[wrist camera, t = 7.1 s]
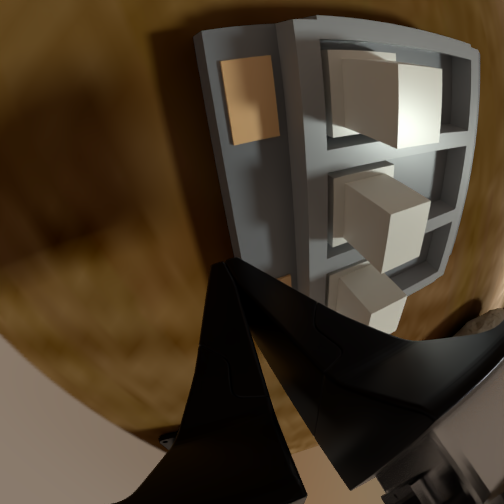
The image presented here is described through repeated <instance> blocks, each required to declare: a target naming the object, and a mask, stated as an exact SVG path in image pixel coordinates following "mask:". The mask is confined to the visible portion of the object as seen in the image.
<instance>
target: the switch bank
mask: <svg viewBox="0 0 504 504" xmlns="http://www.w3.org/2000/svg"><path fill="white" fill-rule="evenodd" d="M193 40H194V46H195V52H196V58H197V63H198V69H199V75H200V81H201V86H202V92H203V98H204V103H205V109H206V114H207V120H208V125H209V130H210V136H211V141H212V147H213V152H214V157H215V162H216V168H217V173H218V178H219V183H220V188H221V194H222V199H223V204H224V209H225V214H226V219H227V224H228V229H229V234H230V239H231V244H232V249H233V253H234V257H238V258H240V259H242V260H244V261H245V262H247V263H249V264H251V265H253V266H254V267H256V268H258V269H260V270H261V271H263V272H265V273H267V274H269V275H270V276H272V277H274V278H276V279H278V280H279V281H281V282H283V283H285V284H287V285H288V286H290V287H292V288H294V289H296V290H297V291H299V292H301V293H303V294H305V295H306V296H308V297H310V298H312V299H314V300H315V301H317V303H318V302H319V303H321V304H323V305H325V290H326V274H327V273H330V272H333V271H335V270H338V269H340V268H343V267H345V266H348V265H350V264H353V263H355V262H358V261H360V260H363V259H365V258H364V257H363V256H362V255H361V254H360V253H359V252H358V251H357V250H356V249H355V248H354V247H353V246H351V245H350V244H349V243H348V242H346V243H344V244H341V245H338V246H335V247H332V246H331V245H330V244H329V243H328V242H327V236H328V173H329V172H333V171H338V170H342V169H347V168H351V167H356V166H360V165H365V164H370V163H374V162H379V161H384V160H386V161H388V162H390V163H392V164H394V177H393V178H394V179H396V180H397V181H399V182H401V183H403V184H404V185H406V186H408V187H409V188H411V189H413V190H414V191H416V192H418V193H419V194H421V195H423V196H424V197H426V198H427V199H429V200H431V204H430V209H429V214H428V219H427V224H426V229H425V234H424V238H423V242H422V247H421V251H420V255H419V257H417V258H415V259H412V260H410V261H408V262H406V263H404V264H402V265H400V266H398V267H395V268H393V269H391V270H389V271H387V272H385V274H386V275H387V276H388V277H389V278H390V279H391V280H392V281H393V282H394V283H395V284H396V285H397V286H398V287H399V288H400V289H401V290H402V291H403V292H404V293H405V294H406V295H407V296H409V295H411V294H413V293H414V292H416V291H418V290H420V289H422V288H423V287H425V286H427V285H429V284H430V283H432V282H434V281H435V280H436V279H437V278H438V277H440V276H442V275H443V273H444V270H445V267H446V264H447V261H448V258H449V255H450V254H451V252H452V249H453V245H454V242H455V239H456V235H457V231H458V228H459V224H460V220H461V216H462V212H463V208H464V203H465V199H466V194H467V189H468V184H469V179H470V174H471V168H472V162H473V155H474V148H475V141H476V132H477V123H478V111H479V94H480V53H478V50H476V49H474V48H471V45H470V44H467V43H464V42H461V41H458V40H455V39H452V38H449V37H445V36H442V35H438V34H435V33H431V32H427V31H423V30H419V29H415V28H410V27H405V26H401V25H395V24H390V23H384V22H378V21H372V20H364V19H356V18H347V17H336V16H322V15H315V16H310V17H305V18H301V19H291V20H287V21H283V22H280V23H276V24H259V25H246V26H235V27H226V28H218V29H211V30H204V31H201V32H199V33H198V34H196V35H195V36H193ZM321 50H359V51H375V52H386V53H396V61H397V62H404V63H411V64H417V65H423V66H429V67H434V68H439V69H442V107H441V125H440V137H439V143H433V144H426V145H420V146H413V147H407V148H401V149H396V148H393V147H391V146H389V145H387V144H384V143H382V142H380V141H377V140H375V139H373V138H370V137H368V136H365V135H363V134H355V135H348V136H342V137H335V138H332V137H330V136H328V135H326V114H325V98H324V84H323V71H322V60H321Z"/></svg>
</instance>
